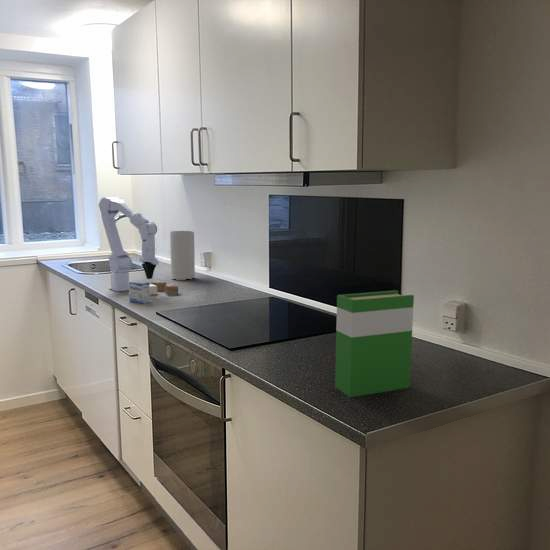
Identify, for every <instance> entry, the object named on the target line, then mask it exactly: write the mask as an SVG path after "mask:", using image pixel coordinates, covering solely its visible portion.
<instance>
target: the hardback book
mask: <svg viewBox="0 0 550 550" xmlns="http://www.w3.org/2000/svg"><path fill="white" fill-rule="evenodd" d="M414 297H415V295H413V294H406V295H405V294H404V295H402V294H399V290H396V289H395V290H386V291H385V290H384V291H382V290H381V291H372V292H371V291H370V292H360V293H347V294H346V293H345V294H338V295H337V296H336V327H335V329H336V330H335V333H336V334H335V362H334V363H335V373H334V388H335V389H336V388H337V389H336V390H337V391H339V390H340V392H341V393H342V392H343V394H344V395H345V396H347V397H349V398H354V397H360V396H361V397H362V396H366V395H368V396H369V395H372V394H379V393H380V394H381V393H385V392H392V391H398V390H397V389H399V390H403V388H405V389H409V388H408V387H410V388H411V368H412V367H411V366H412V345H413V343H412V342H413V326H414V325H413V321H414V304H415V303H414V301H415V300H414V299H415V298H414Z"/></svg>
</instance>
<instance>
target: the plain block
mask: <svg viewBox="0 0 550 550" xmlns="http://www.w3.org/2000/svg"><path fill="white" fill-rule="evenodd" d="M151 294H154V295H158V291H157V286H156V285H153V284H150V296H152V295H151Z"/></svg>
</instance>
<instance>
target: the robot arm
mask: <svg viewBox="0 0 550 550" xmlns="http://www.w3.org/2000/svg"><path fill="white" fill-rule="evenodd" d="M98 207H99V211H100V213H101V221H102V225H103V228H104V231H105V234H106V238H107V241H108V244H109V248H110V251H111V253H110V255H108V261H109V262H108V264H109V269H110V270H111V273H110V287H109V289H108V290H111V289H112V291H114V292H125V291H129V282H130V271H131V268H132V267H133V260H132V259H131V257H130V256H129V255H130V254H129V253H128V252H127V251H125V249H124V247H123V245H122V242H121V237H120V234H119V231H118V227H117V224H116V220H115V217H116V216H117V215H119V213H121V214H122V215H124V216H126V217H127V218H128V219H129V223H130V224H132V225H133V226H134V227H135V228H136V229H137V230H138V233H139V234H140V239H141V247H142V248H141V252H142V256H141V257H139V262H141V266H142V269H143V270H144V273H145V277H146V279H147V280H152V279H153V276H154V272H155V269H156V267H157V265H159V259H158V257H156V234H157V232H158V227H157V224H156V223H155V222H154V221H149V219H146V218H145V217H143V215H142V213H140V212H139V213H138V212H134V211H133V210H132V209H131V208H130V207H129V206H128V205H127V204H126V203H125V200H124V199H122V198H121V196H116V197H113V196H112V197H109V196H108V197H105V196H104V197H102V198H100V200H99V203H98ZM142 262H143V263H142Z"/></svg>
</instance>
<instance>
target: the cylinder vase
mask: <svg viewBox="0 0 550 550" xmlns="http://www.w3.org/2000/svg"><path fill="white" fill-rule="evenodd" d="M169 237H170V239H169V241H170V243H169V244H170V278H171V279H172V280H173V279H176V280H175V281H187V280H186V279H191V280H193V279H192V278H194V277H196V274H195V272H196V269H195V268H196V266H195V265H196V263H195V262H196V261H195V260H196V259H195V231H192V230H172V231H170V232H169ZM194 279H195V278H194Z"/></svg>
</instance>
